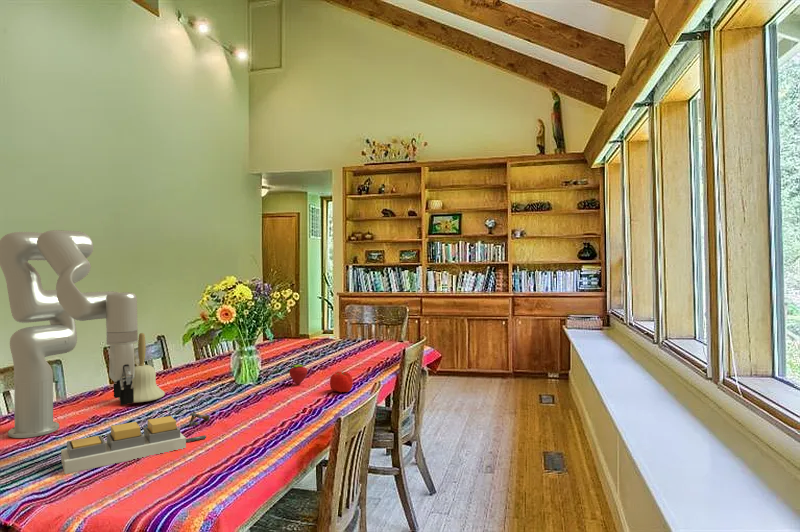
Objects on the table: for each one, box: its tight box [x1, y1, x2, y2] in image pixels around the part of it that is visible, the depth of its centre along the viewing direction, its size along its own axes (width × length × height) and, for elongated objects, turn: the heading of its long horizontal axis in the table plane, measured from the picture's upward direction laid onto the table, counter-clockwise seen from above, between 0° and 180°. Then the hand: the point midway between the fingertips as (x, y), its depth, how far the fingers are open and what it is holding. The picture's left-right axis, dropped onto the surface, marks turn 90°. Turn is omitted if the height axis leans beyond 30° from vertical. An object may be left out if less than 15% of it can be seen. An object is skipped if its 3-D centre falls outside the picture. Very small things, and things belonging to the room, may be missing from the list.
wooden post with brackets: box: [188, 411, 211, 427], centre depth 164 cm, size 2×8×4 cm, turn 159°
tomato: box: [329, 371, 354, 394], centre depth 205 cm, size 9×9×8 cm
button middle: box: [110, 421, 141, 440], centre depth 138 cm, size 6×6×2 cm
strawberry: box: [288, 361, 308, 386], centre depth 215 cm, size 6×8×10 cm
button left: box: [70, 435, 101, 449], centre depth 132 cm, size 6×6×2 cm
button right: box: [147, 415, 177, 433], centre depth 143 cm, size 6×6×2 cm
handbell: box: [117, 332, 166, 403], centre depth 190 cm, size 15×15×25 cm
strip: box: [60, 425, 207, 475], centre depth 140 cm, size 10×35×5 cm, turn 127°
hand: (123, 400), depth 141 cm, fingers open, 9 cm apart
